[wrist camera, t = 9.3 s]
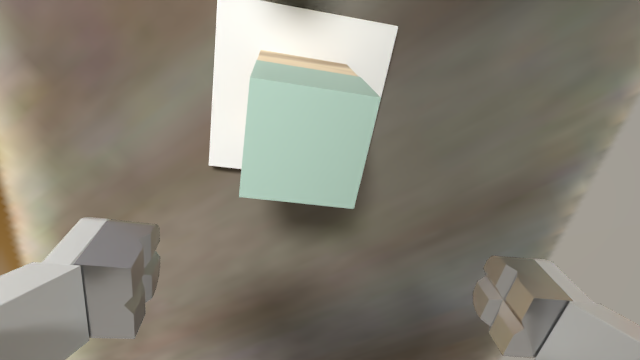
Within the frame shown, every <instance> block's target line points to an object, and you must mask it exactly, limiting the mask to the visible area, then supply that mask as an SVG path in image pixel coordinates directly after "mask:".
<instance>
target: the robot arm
mask: <svg viewBox="0 0 640 360" xmlns="http://www.w3.org/2000/svg"><path fill="white" fill-rule="evenodd" d="M159 242H160V228H159V226H158V225H157V224H149V223H140V222H131V221H122V220H113V219H111V220H109V219H104V218H92V217H85V218H81V219H80V220H79V221H78V222H77V223H76V225H75V226H74V227H73V228H72V229H71V230H70V231H69V232H68V233H67V235H66V236H65V237H64V238H63V239H62V240H61V241H60V242H59V243H58V245H57V246H56V247H55V248H54V249H53V250H52V251H51V252H50V253H49V255H48V256H47V257H46V258H45V259H44V260H43V261H42V262H41V263H37V262H32V263H30V264H27V265H25V266H23V267H20V268H18V269H16V270H13V271H11V272H8V273H6V274H4V275H1V276H0V360H65V359H67V358H68V357H69V356H70V355H72V354H73V353H74V352H75V351H77V350H78V349H79V348H80V347H82V346H83V345H84V344H85V343H87V342H88V341H89V338H124V339H135V337H136V335H137V332H138V330H139V328H140V325H141V323H142V321H143V318H144V316H145V314H146V313H145V303H146V302H147V301H149V300H150V299H152V297H153V295H154V292H155V290H156V287H157V282H158V278H159V272H160V256H159V255H158V253H157V252H156V251H155V250H156V248H157V246H158V244H159ZM483 269H484V272H485V276H484V277H483V278H481V279H480V280H479V281H477V283H476V286H475V288H474V291H473V305H474V308H475V311H476V313H477V314H478V316H479V318H480V319H481V320H482V321H484V322H485V323H486V324H488V325H489V326H490V328H489V334H490V336H491V338H492V339H493V341H494V343H495V344H496V346H497V347H498V349H499V351H500V352H501V354H502V356H515V357H527V358H535V360H640V325H638V324H636V323H634V322H632V321H631V320H629V319H627V318H625V317H624V316H622V315H620V314H618V313H616V312H614V311H613V310H611V309H609V308H607V307H605V306H603V305H602V304H598V303H594V302H593V301H592V300H591V299H590V298H589V297H588V296H587V295H585V293H584V292H583V291H582V290H581V289H580V288H579V287H578V286H577V285H575V283H574V282H573V281H572V280H570V278H569V277H567V276H566V275H565V274H564V273H563V272H562V271H561V270H560V269H559V268H558V267H557V266H556V265H555V264H554V263H553V262H552V261H549V260H547V259H537V258H516V257H503V256H491V257H490V258H489V259H488V260H487V261H486V263H485V265H484V268H483Z"/></svg>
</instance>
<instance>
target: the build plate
mask: <svg viewBox="0 0 640 360" xmlns="http://www.w3.org/2000/svg"><path fill="white" fill-rule="evenodd" d="M397 30H398V26H395V25H389V24H384V23H379V22H374V21H368V20H363V19H358V18H352V17H347V16H342V15H336V14H331V13H326V12H320V11H315V10H310V9H304V8H299V7H294V6H289V5H283V4H278V3H273V2H267V1H262V0H217V19H216V38H215V58H214V77H213V96H212V115H211V134H210V153H209V165H211V166H219V167H228V168H236V169H242V158H243V147H244V136H245V125H246V115H247V104H248V93H249V82H250V76H251V73H252V71H253V68H254V65H255V63H256V60H257V58H258V56H259V53H260V50H265V51H271V52H277V53H283V54H289V55H294V56H300V57H306V58H312V59H318V60H324V61H330V62H336V63H342V64H347V65H348V66H349V67H350V68H351V69H352V70H353V71H354V72H355V73H356V74H357V75H358V77H361V78H362V79H363V80H364V81H365V82H366V83H367V84H368V85H369V86H370V87H371V88H372V89H373V90H374V91H375V92H376V93H377V94H378V95H379V96H380V97H381V96H382V92H383V87H384V83H385V79H386V75H387V71H388V67H389V63H390V59H391V54H392V50H393V46H394V42H395V38H396V34H397ZM380 100H381V99H380ZM379 104H380V103H379ZM378 108H379V107H378ZM377 112H378V111H377ZM376 116H377V115H376ZM373 129H374V128H373ZM372 133H373V132H372ZM371 137H372V136H371ZM370 141H371V140H370ZM369 145H370V144H369ZM368 149H369V148H368ZM365 162H366V161H365ZM364 166H365V165H364ZM363 170H364V169H363ZM362 174H363V173H362ZM361 178H362V177H361ZM360 182H361V181H360Z"/></svg>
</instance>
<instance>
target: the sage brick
mask: <svg viewBox="0 0 640 360" xmlns="http://www.w3.org/2000/svg"><path fill="white" fill-rule="evenodd" d="M380 99H381V97H380V96H379V95H378V94H377V93H376V92H375V91H374V90H373V89H372V88H371V87H370V86H369V85H368V84H367V83H366V82H365V81H364V80H363V79H362V78H361V77H358V76H352V75H346V74H340V73H334V72H328V71H321V70H315V69H309V68H303V67H297V66H291V65H285V64H278V63H272V62H266V61H260V60H256V63H255V65H254V68H253V71H252V73H251V76H250V82H249V93H248V104H247V115H246V125H245V136H244V147H243V158H242V169H241V180H240V191H239V197H245V198H254V199H264V200H273V201H283V202H292V203H302V204H311V205H321V206H330V207H340V208H349V209H354V206H355V202H356V198H357V194H358V190H359V186H360V181H361V177H362V173H363V169H364V165H365V161H366V157H367V153H368V148H369V144H370V140H371V136H372V132H373V128H374V124H375V120H376V115H377V111H378V107H379V103H380Z"/></svg>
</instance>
